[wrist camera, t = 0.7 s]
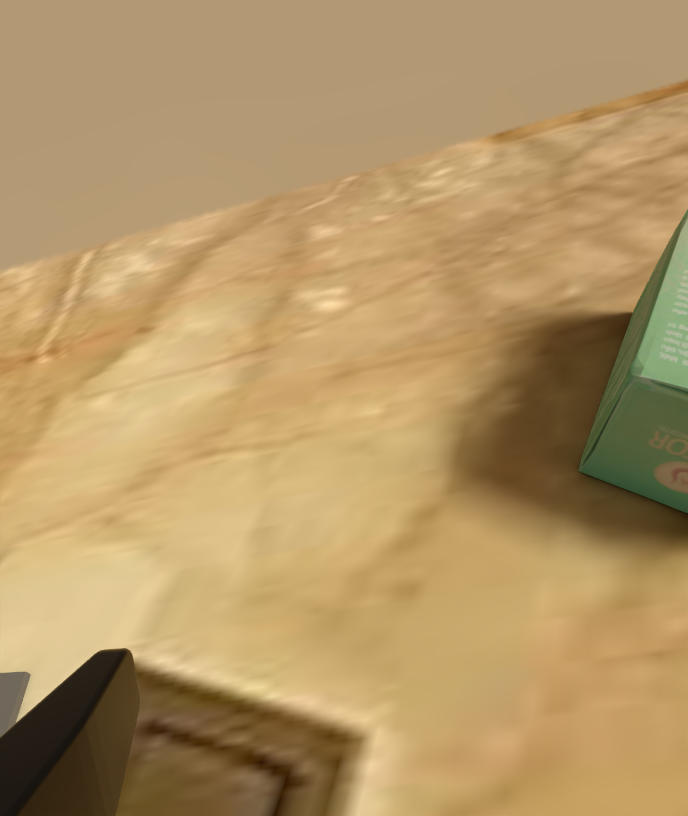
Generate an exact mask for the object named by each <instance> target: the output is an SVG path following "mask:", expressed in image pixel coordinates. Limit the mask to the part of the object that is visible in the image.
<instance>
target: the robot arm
mask: <svg viewBox="0 0 688 816" xmlns="http://www.w3.org/2000/svg"><path fill="white" fill-rule="evenodd" d="M139 704H140V693H139V687H138V681H137V676H136V671H135V665H134V660H133V656H132V653H131V651H130V650H128V649H126V648H121V649H107V650H101V651H99V652H97V653H96V654H94V655H93V656H92V657H91V658H90V659H89V660H87V661H86V662H85V663H84V664H83V665H82V666H81V667H80V668H78V669H77V670H76V671H75V672H74V673H73V674H72V675H70V676H69V677H68V678H67V679H66V680H65V681H64V682H62V683H61V684H60V685H59V686H58V687H57V688H56V689H54V690H53V691H52V692H51V693H50V694H49V695H48V696H46V697H45V698H44V699H43V700H42V701H41V702H40V703H38V704H37V705H36V706H35V707H34V708H33V709H32V710H31V711H29V712H28V713H27V714H26V715H25V716H24V717H23V718H21V719H20V720H19V721H18V722H17V723H16V724H15V725H13V726H12V727H11V728H10V729H9V730H8V731H7V732H5V733H4V734H3V735H2V736H1V737H0V816H115V815H116V810H117V806H118V801H119V797H120V792H121V788H122V783H123V779H124V774H125V770H126V765H127V761H128V756H129V752H130V747H131V743H132V738H133V734H134V729H135V725H136V721H137V716H138V711H139Z"/></svg>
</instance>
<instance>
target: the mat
mask: <svg viewBox="0 0 688 816" xmlns="http://www.w3.org/2000/svg"><path fill="white" fill-rule="evenodd" d="M29 678H30V674H29V673H27V672H12V673H0V737H1V736H2V735H3V734H4V733H5V732H7V731H8V730H9V729H10V728H11V727H12V726H13V725H15V723H16V719H17V716H18V713H19V710H20V706H21V703H22V700H23V697H24V694H25V690H26V687H27V684H28V681H29Z"/></svg>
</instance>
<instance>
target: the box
mask: <svg viewBox="0 0 688 816" xmlns="http://www.w3.org/2000/svg"><path fill="white" fill-rule="evenodd" d="M578 471H579V472H581V473H584V474H586V475H589V476H592V477H594V478H597V479H600V480H602V481H605V482H607V483H610V484H613V485H615V486H618V487H621V488H623V489H626V490H628V491H631V492H634V493H636V494H639V495H642V496H644V497H647V498H649V499H652V500H654V501H657V502H659V503H662V504H665V505H667V506H670V507H672V508H675V509H677V510H680V511H682V512H685V513H687V514H688V210H687V212H686V213H685V215H684V217H683V219H682V220H681V222H680V224H679V225H678V227H677V228H676V230H675V232H674V234H673V235H672V237H671V239H670V241H669V242H668V244H667V246H666V248H665V250H664V252H663V254H662V256H661V258H660V260H659V261H658V263H657V265H656V267H655V269H654V271H653V273H652V275H651V277H650V279H649V281H648V283H647V285H646V287H645V289H644V291H643V293H642V295H641V297H640V299H639V301H638V303H637V305H636V307H635V309H634V311H633V314H632V317H631V319H630V322H629V325H628V328H627V331H626V333H625V336H624V339H623V342H622V344H621V347H620V350H619V353H618V355H617V358H616V361H615V364H614V367H613V369H612V372H611V375H610V378H609V380H608V383H607V386H606V389H605V391H604V394H603V397H602V400H601V403H600V406H599V409H598V412H597V414H596V417H595V420H594V423H593V426H592V429H591V432H590V435H589V437H588V440H587V443H586V446H585V449H584V451H583V454H582V457H581V461H580V465H579V469H578Z"/></svg>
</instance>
